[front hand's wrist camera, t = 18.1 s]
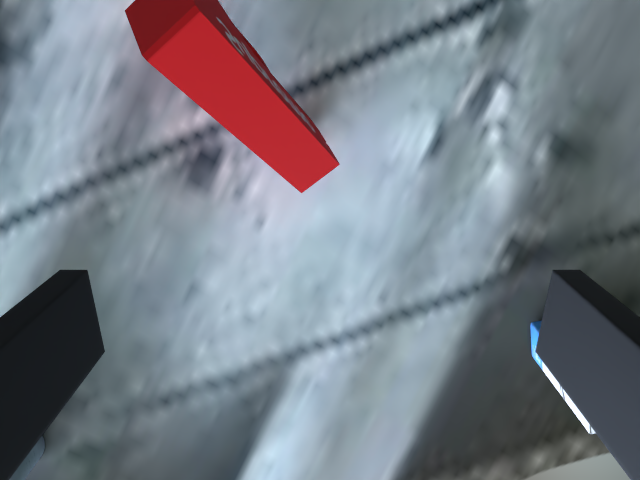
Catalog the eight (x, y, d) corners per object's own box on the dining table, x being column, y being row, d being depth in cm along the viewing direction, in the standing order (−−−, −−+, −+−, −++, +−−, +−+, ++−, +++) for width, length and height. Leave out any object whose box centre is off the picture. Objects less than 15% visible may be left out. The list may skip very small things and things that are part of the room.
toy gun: (107, -51, 33) (136, 51, 25) (147, -92, 32) (190, 0, 24) (254, 98, 48) (303, 194, 39) (284, 73, 47) (340, 166, 38)
